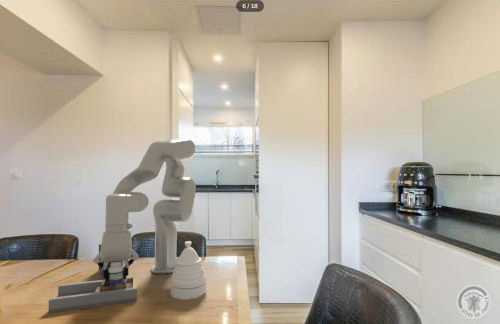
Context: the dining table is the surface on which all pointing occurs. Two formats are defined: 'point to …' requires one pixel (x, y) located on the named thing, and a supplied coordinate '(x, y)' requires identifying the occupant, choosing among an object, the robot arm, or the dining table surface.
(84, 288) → the bay
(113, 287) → the crate
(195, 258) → the honey pot
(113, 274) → the pill bottle
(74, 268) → the dining table surface
